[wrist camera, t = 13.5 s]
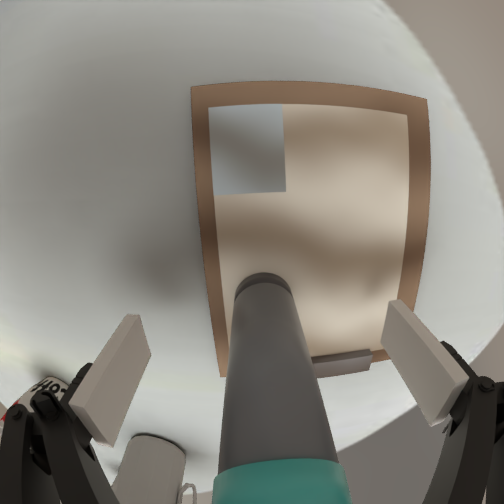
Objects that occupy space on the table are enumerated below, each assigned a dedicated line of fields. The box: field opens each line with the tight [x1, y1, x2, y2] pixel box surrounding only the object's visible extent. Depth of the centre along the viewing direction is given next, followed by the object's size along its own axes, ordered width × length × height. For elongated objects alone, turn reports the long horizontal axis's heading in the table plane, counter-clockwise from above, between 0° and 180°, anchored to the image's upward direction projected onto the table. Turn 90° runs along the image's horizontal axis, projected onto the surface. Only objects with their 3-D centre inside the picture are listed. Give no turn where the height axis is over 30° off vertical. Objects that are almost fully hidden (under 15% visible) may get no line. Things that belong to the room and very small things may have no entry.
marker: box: [212, 272, 352, 504], centre depth 10 cm, size 4×4×14 cm
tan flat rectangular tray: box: [191, 81, 431, 378], centre depth 16 cm, size 20×15×2 cm
